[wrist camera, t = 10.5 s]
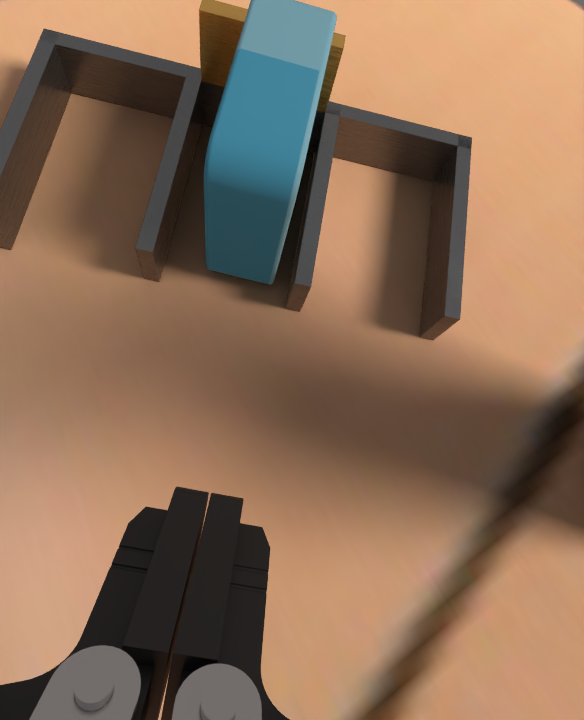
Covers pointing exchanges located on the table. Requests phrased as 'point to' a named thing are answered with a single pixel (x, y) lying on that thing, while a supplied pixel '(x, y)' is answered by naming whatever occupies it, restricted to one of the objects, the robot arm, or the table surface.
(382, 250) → the table surface
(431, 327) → the sorting rack
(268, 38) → the data package
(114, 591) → the robot arm
